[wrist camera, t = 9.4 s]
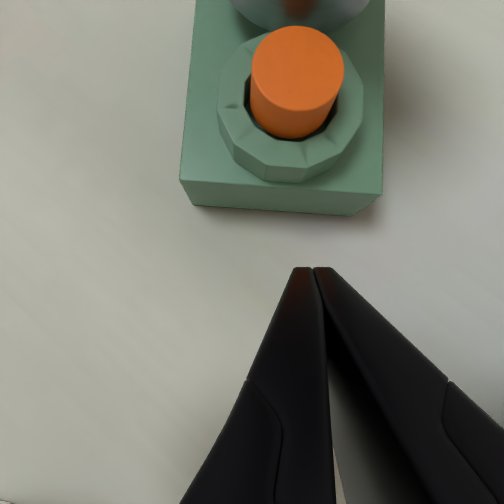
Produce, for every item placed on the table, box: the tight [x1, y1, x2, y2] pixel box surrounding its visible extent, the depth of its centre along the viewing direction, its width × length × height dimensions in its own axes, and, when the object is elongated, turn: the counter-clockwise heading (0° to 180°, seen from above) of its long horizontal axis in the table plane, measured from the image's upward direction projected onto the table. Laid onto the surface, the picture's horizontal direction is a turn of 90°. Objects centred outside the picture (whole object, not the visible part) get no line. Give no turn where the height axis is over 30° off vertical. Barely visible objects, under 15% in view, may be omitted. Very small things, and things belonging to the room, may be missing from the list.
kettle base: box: [179, 0, 385, 216], centre depth 18 cm, size 14×10×6 cm
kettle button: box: [250, 26, 344, 139], centre depth 14 cm, size 4×4×2 cm
